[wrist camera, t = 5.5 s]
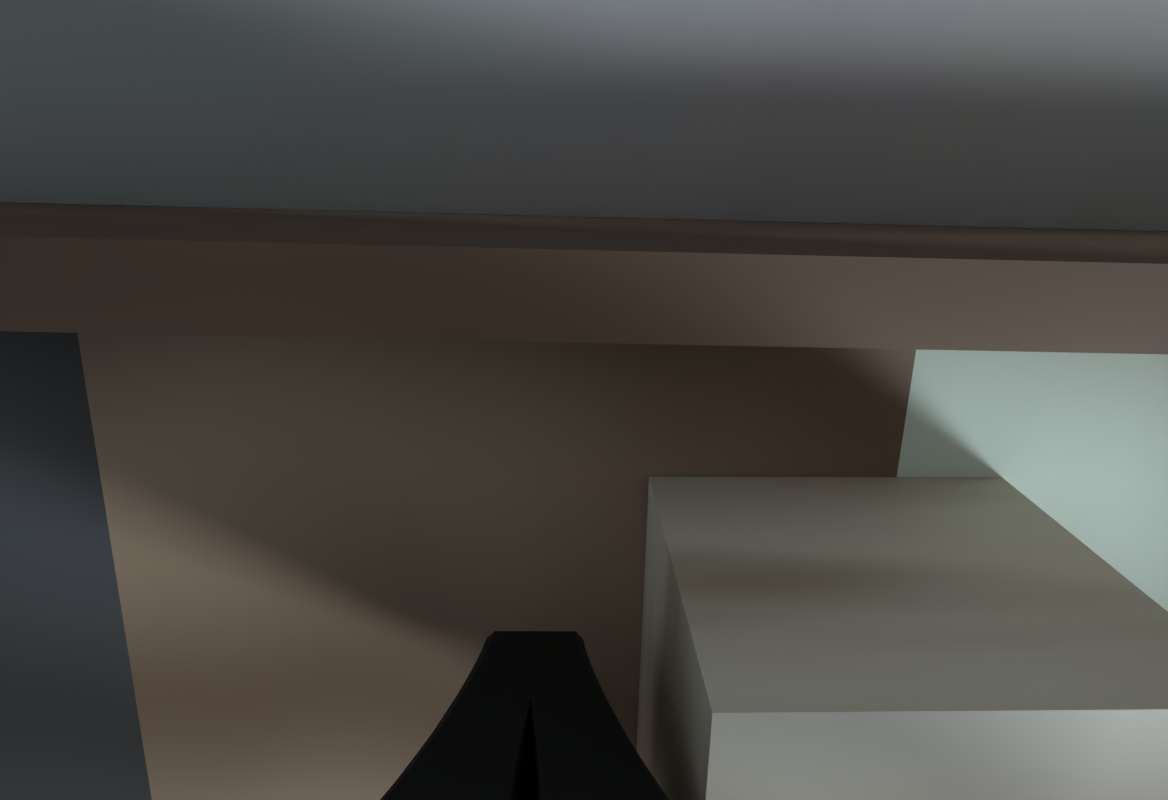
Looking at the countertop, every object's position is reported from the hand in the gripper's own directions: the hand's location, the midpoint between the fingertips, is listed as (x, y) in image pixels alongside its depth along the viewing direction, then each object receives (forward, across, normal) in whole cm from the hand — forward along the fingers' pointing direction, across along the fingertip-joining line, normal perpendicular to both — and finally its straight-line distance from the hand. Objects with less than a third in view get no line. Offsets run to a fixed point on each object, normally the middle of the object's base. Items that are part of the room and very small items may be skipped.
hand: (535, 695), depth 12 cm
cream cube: (+1, -4, 0) cm, 4 cm away
